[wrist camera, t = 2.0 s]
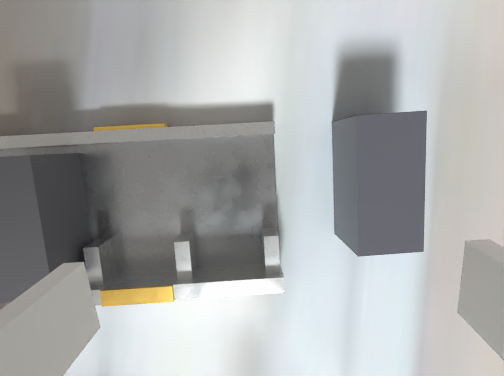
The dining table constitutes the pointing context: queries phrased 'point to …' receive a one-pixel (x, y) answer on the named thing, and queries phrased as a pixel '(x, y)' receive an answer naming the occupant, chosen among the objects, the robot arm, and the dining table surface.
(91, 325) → the robot arm
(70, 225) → the dark grey rectangular block
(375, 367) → the dining table surface
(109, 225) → the rack
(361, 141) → the panel
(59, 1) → the dining table surface
